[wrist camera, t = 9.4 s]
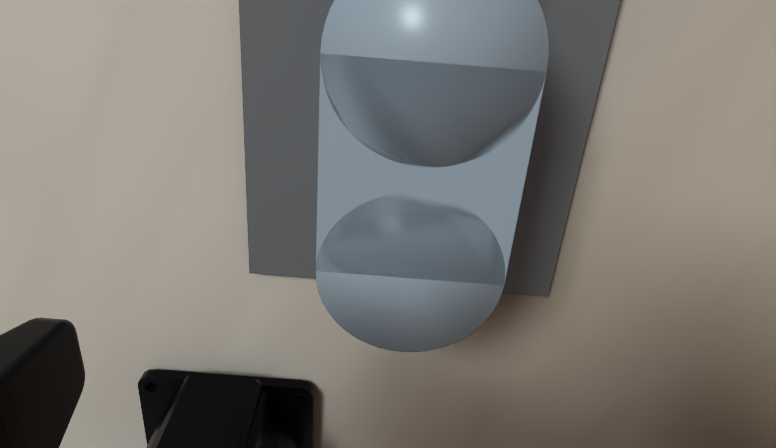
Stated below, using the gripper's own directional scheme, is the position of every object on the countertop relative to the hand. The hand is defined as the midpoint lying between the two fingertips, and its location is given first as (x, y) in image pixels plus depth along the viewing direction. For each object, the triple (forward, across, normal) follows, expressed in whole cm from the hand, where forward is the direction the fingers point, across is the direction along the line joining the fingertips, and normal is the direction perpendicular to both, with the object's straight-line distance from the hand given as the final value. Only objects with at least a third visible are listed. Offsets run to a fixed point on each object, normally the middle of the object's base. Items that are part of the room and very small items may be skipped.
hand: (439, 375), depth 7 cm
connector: (+11, 0, -1) cm, 11 cm away
